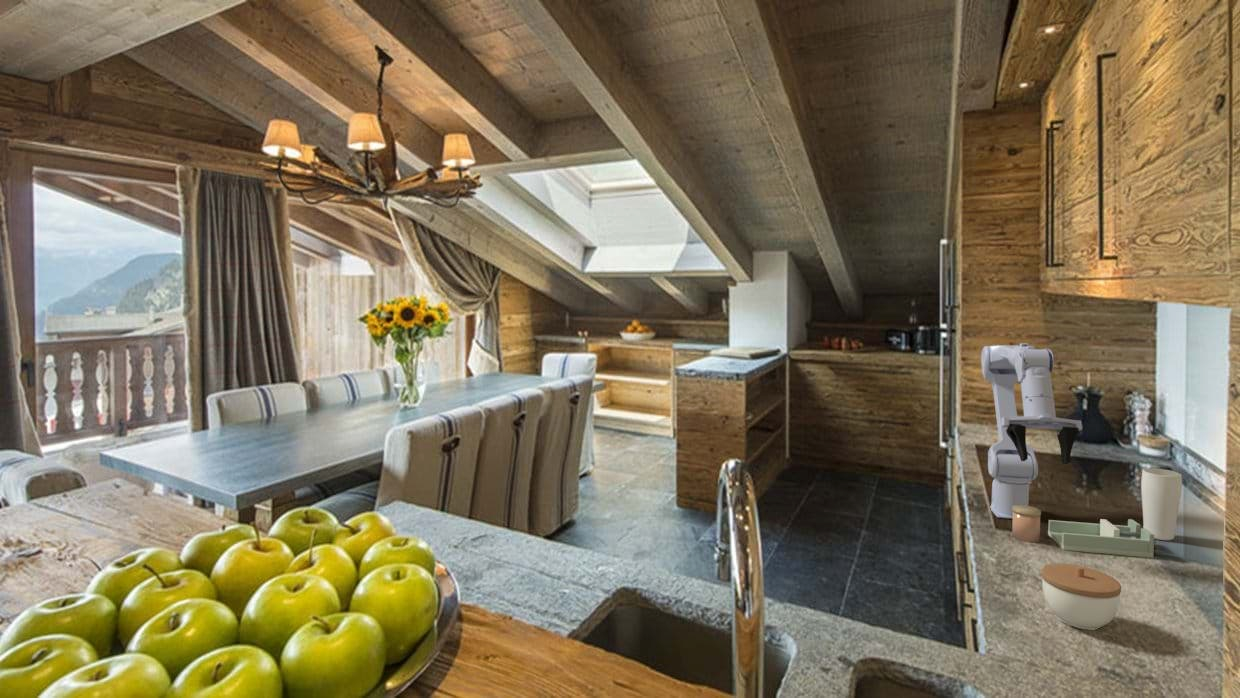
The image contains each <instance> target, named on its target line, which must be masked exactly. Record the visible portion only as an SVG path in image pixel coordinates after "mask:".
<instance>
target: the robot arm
mask: <svg viewBox="0 0 1240 698" xmlns="http://www.w3.org/2000/svg"><path fill="white" fill-rule="evenodd" d="M980 354H981V359H980V360H981V362H980V363H981V371H982V376H983V380H985V381H987V382H989V383H990V384H991V389H992V391H993V392H992V393H993V401H994V408H995V418H996V425H997V426H996V427H997V435H998V441H997V442H996V443H994V444H993V445H991V446H990V447H989V449H988V452H987V455H988V456H987V469H988V474H989V475H990V476H991V477H992V478H994V479H993V481H992V483H991V484H992V485H991V503H990V504H991V506H990V508H991V509H990V508H989V509H990V510H991V512H992V513H993V514H994V515H995V516H996V518H999V519H1000V518H1001V519H1012V520H1013V511H1012V507H1013V506H1014V505H1026V506H1029V497H1030V496H1029V495H1030V494H1029V493H1030V484H1032V482H1033V481H1034V480H1035V479H1036V478H1037V477H1038V475H1039V474H1038V473H1039V464H1038V460H1037V458H1036V454H1035V450H1034V448H1033V447H1031V446H1030V445H1028V444H1027V440H1026V435H1027V433H1026V431H1027V429H1042V430H1045V429H1047V430H1059V433H1058V434H1056V436H1057V441H1058V443H1059V447H1060V456H1061V464H1062V465H1067V464H1070V463H1071V454H1072V449H1073V446H1074V443H1075V441H1076V438H1077V436H1078V434H1079V432H1080V431H1082V430H1083V423H1082V420H1079V419H1077V420H1076V419H1069V418H1062V417H1057V415H1056V407H1055V397H1054V391H1053V389H1054V388H1053V383H1052V373H1053V370H1054V365H1055V364H1054V362H1055V361H1054V360H1055V358H1054V354H1053V351H1052V350H1051V349H1050V348H1044V349H1043V348H1042V349H1040V348H1039V349H1036V348H1035V346H1033V345H1030V343H1028V342H1027V343H1026V342H1025V343H1020V344H1019V345H1010V344H1009V345H999V344H998V345H985V346H984V347H983V348H982V349H981V353H980ZM1016 383H1020V390H1021V399H1022V408H1023V409H1022V410H1023V416H1018V411H1017V404H1016V398H1015V397H1016V396H1015V389H1014V386H1015V384H1016Z"/></svg>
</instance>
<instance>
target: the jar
mask: <svg viewBox="0 0 1240 698" xmlns="http://www.w3.org/2000/svg"><path fill="white" fill-rule="evenodd" d="M1012 511H1013V519H1012V521H1011V522H1012V526H1011V528H1012V530H1011V537H1012V538H1013V539H1015V540H1017V541H1020V542H1025V543H1038V542H1040V537H1041V535H1040V532H1041V515H1042V510H1041V509H1039V508H1038V507H1035V506H1030V505H1028V506H1026V505H1014V506H1013V507H1012Z"/></svg>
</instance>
